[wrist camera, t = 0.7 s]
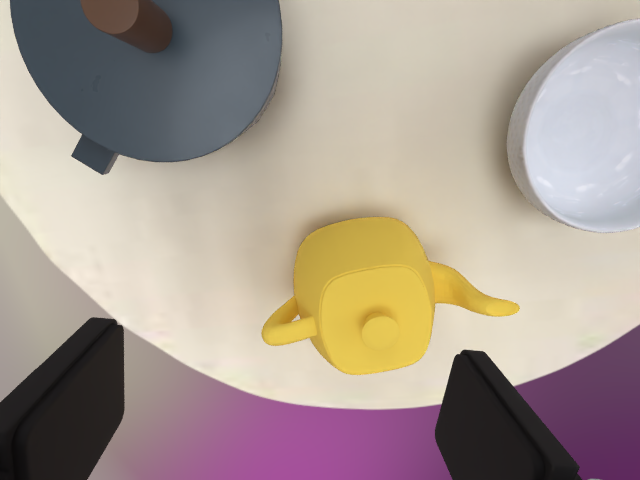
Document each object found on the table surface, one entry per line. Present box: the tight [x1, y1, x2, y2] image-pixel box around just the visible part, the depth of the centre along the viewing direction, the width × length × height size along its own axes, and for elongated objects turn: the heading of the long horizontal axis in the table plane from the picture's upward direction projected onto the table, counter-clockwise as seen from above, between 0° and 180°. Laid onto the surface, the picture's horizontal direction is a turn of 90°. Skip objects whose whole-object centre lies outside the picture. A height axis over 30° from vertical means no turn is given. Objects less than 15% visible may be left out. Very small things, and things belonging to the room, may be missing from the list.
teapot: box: [262, 217, 520, 375], centre depth 34 cm, size 13×20×12 cm
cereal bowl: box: [507, 18, 640, 233], centre depth 34 cm, size 17×17×7 cm
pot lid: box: [10, 0, 282, 162], centre depth 22 cm, size 17×17×7 cm
